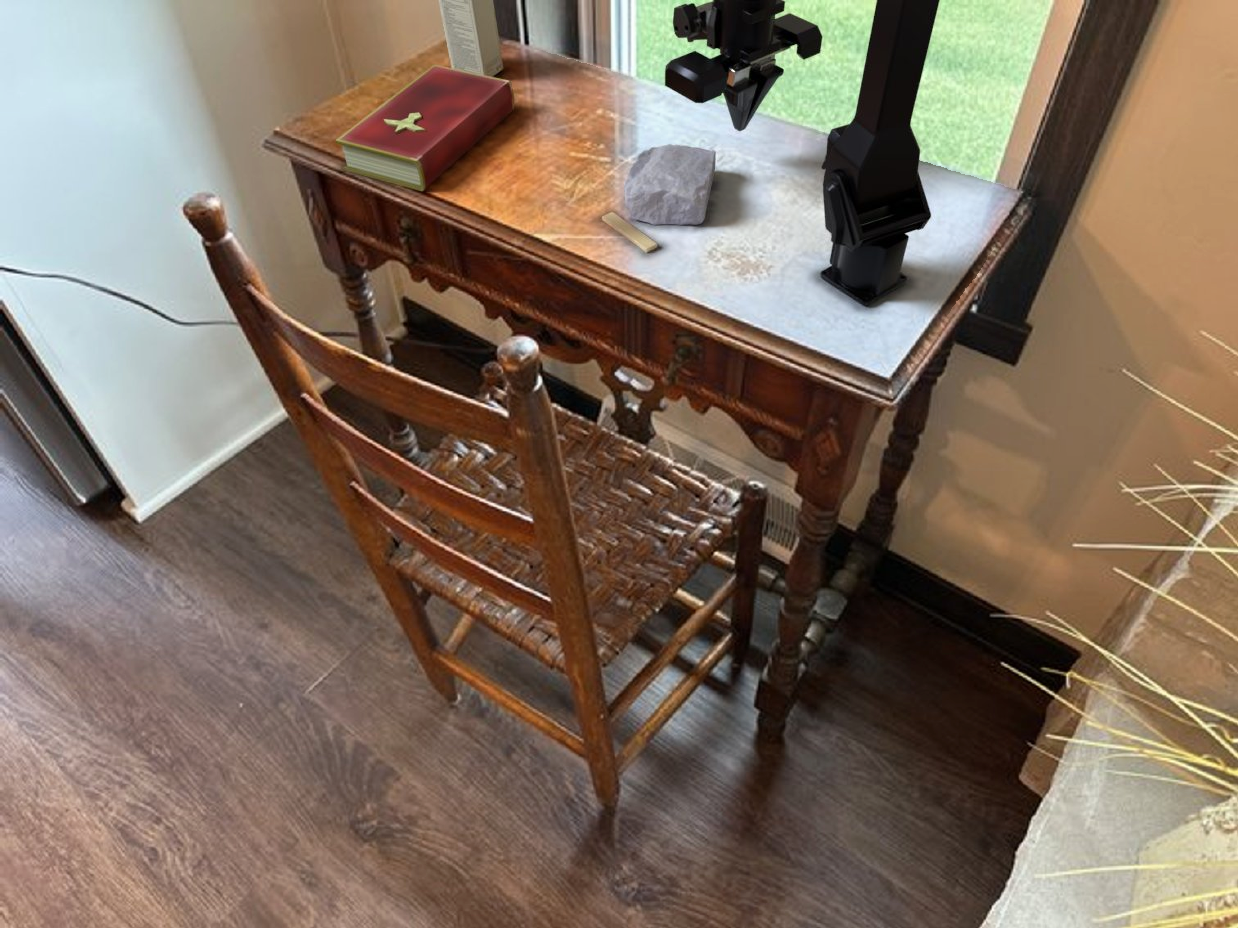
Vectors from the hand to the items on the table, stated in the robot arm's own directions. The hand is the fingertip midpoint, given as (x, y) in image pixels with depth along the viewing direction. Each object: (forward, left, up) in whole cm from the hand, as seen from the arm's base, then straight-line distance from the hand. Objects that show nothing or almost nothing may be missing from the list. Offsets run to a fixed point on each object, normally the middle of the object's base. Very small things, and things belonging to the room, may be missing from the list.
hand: (739, 129), depth 107 cm
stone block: (0, +11, -4) cm, 12 cm away
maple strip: (-3, +19, -4) cm, 20 cm away
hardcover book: (+29, +26, -4) cm, 39 cm away
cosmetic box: (+41, +12, -4) cm, 43 cm away
